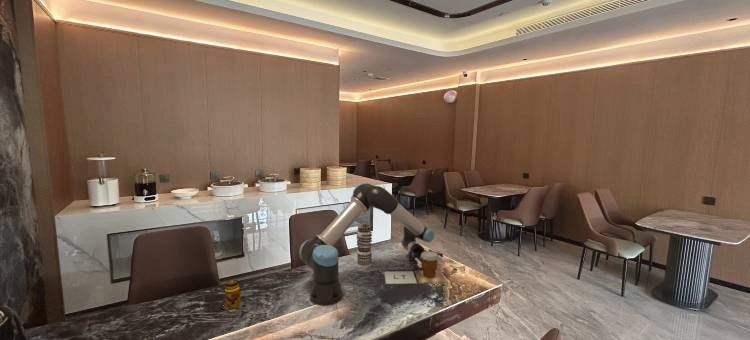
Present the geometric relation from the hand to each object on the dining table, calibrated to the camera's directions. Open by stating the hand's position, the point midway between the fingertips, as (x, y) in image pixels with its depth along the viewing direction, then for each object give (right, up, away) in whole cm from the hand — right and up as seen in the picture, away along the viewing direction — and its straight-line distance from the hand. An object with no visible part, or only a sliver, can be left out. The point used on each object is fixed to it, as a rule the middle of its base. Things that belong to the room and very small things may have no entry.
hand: (432, 263), depth 165 cm
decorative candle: (-36, -7, +21) cm, 43 cm away
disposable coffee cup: (-1, -8, +4) cm, 9 cm away
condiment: (-94, -12, -25) cm, 98 cm away
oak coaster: (-1, -8, +4) cm, 9 cm away
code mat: (-17, -9, +4) cm, 19 cm away
